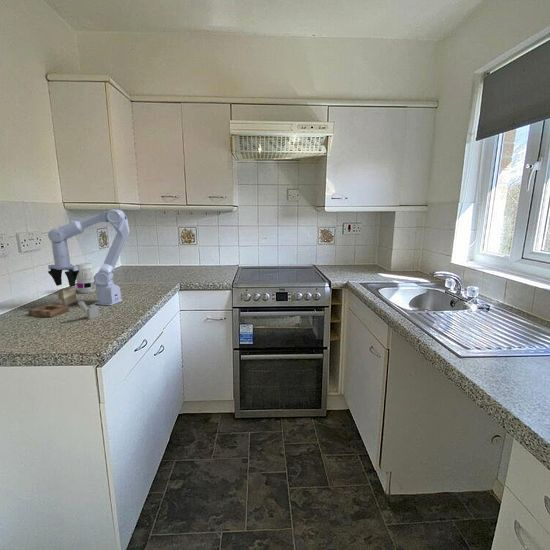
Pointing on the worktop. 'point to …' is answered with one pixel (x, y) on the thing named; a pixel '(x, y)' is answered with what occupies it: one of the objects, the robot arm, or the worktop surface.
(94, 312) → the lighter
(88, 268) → the supplement can
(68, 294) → the peg
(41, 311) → the holder
